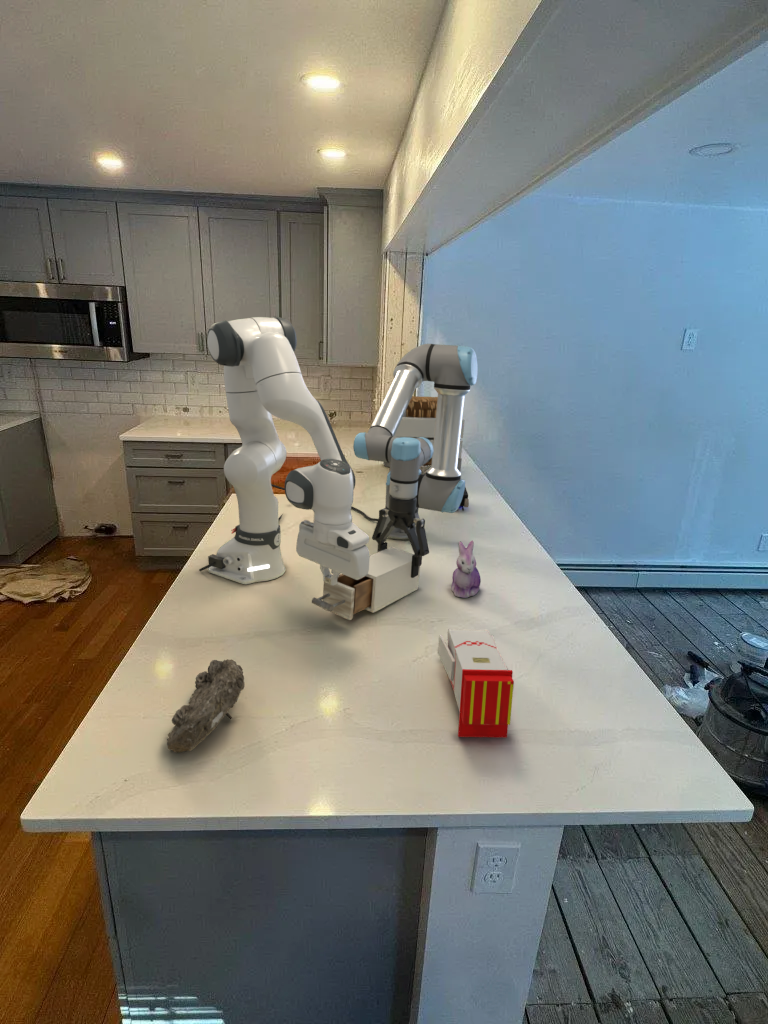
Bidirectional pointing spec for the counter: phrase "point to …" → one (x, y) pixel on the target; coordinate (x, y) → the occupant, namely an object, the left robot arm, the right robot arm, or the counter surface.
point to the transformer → (422, 423)
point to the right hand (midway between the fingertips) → (398, 570)
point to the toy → (478, 682)
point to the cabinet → (390, 577)
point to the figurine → (466, 573)
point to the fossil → (206, 705)
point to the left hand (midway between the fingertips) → (330, 583)
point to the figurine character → (464, 500)
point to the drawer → (346, 596)
